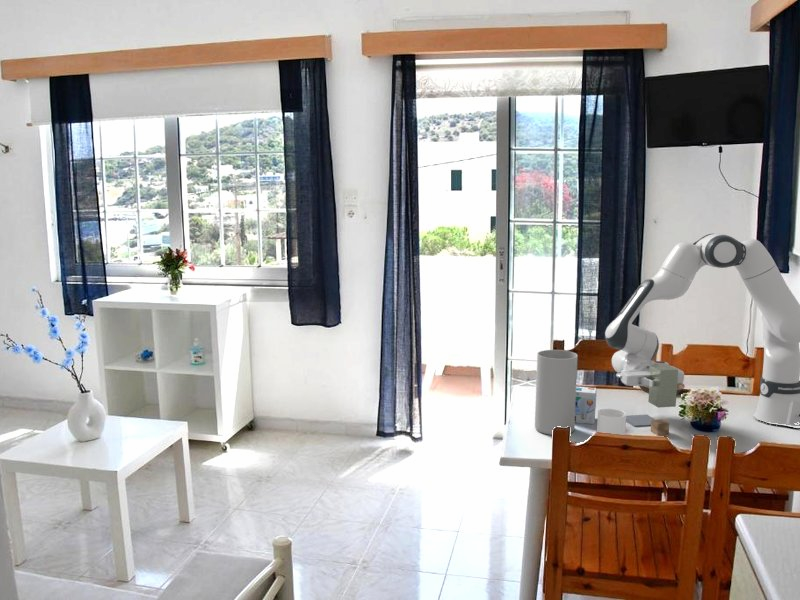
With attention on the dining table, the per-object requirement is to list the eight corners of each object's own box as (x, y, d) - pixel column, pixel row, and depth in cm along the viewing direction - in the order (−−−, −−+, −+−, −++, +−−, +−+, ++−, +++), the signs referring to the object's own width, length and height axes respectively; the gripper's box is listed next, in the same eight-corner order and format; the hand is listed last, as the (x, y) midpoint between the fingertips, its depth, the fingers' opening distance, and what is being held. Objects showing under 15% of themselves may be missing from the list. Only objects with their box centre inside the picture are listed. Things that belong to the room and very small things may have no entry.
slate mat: (646, 415, 254) (646, 414, 254) (662, 425, 244) (662, 423, 244) (619, 417, 252) (619, 416, 252) (634, 426, 242) (634, 425, 242)
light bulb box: (561, 421, 247) (562, 390, 246) (563, 415, 254) (564, 384, 252) (594, 424, 244) (596, 393, 243) (595, 418, 251) (596, 387, 249)
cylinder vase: (527, 425, 243) (530, 351, 239) (561, 421, 247) (564, 348, 243) (546, 438, 231) (549, 360, 227) (581, 434, 235) (585, 357, 231)
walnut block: (662, 431, 239) (662, 419, 238) (668, 435, 235) (669, 423, 234) (650, 431, 238) (651, 419, 237) (657, 436, 234) (657, 423, 233)
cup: (600, 449, 222) (601, 417, 220) (590, 435, 234) (592, 404, 232) (627, 449, 222) (629, 417, 220) (616, 435, 234) (618, 405, 232)
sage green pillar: (665, 400, 238) (667, 364, 236) (675, 406, 232) (678, 369, 230) (648, 401, 237) (650, 365, 235) (658, 407, 231) (660, 370, 229)
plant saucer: (692, 390, 284) (693, 383, 284) (670, 400, 272) (671, 392, 272) (650, 381, 297) (650, 374, 297) (627, 389, 285) (627, 382, 285)
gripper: (614, 364, 244) (634, 375, 230) (670, 361, 247) (694, 372, 234) (613, 383, 245) (633, 395, 231) (669, 379, 248) (693, 391, 235)
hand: (664, 383), depth 233 cm, fingers closed on sage green pillar, 6 cm apart
